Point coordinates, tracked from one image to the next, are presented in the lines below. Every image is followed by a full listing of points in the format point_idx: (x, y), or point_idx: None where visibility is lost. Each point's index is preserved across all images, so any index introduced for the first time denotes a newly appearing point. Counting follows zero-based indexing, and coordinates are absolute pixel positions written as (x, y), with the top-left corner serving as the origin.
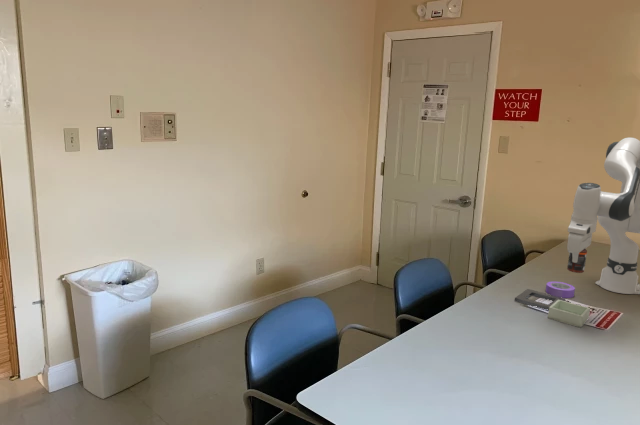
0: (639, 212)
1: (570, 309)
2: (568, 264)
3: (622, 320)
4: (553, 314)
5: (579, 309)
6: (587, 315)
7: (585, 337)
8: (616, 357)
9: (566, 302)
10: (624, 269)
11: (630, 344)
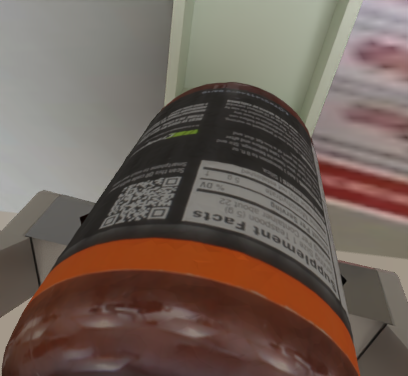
0: None
1: (326, 46)
2: (172, 114)
3: (354, 224)
4: None
5: (312, 92)
6: None
7: (95, 108)
8: (26, 182)
9: (339, 26)
10: None
11: None
